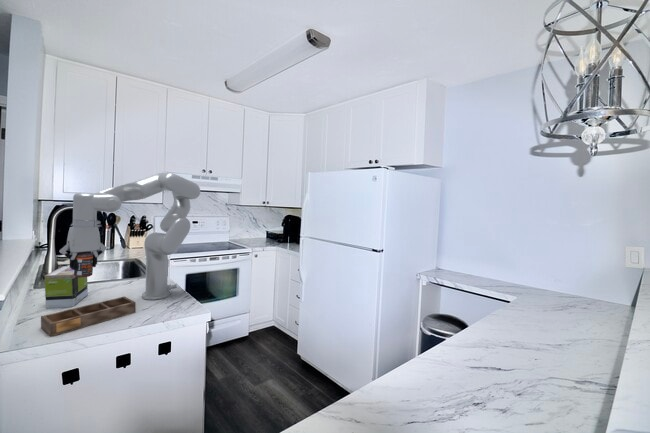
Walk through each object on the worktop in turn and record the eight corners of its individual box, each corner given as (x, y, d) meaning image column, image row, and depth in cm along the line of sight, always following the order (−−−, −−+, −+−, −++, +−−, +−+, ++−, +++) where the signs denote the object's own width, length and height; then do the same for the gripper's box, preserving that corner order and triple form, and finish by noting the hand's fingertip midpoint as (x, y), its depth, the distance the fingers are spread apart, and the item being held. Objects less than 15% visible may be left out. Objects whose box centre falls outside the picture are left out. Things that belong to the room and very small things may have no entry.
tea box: (62, 296, 142) (62, 265, 140) (88, 295, 145) (88, 265, 143) (44, 308, 127) (44, 274, 126) (73, 307, 130) (73, 274, 129)
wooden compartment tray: (124, 306, 135) (124, 296, 134) (135, 312, 129) (136, 302, 129) (41, 328, 111) (40, 316, 111) (51, 337, 106) (51, 324, 105)
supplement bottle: (81, 278, 119) (82, 250, 118) (70, 276, 121) (70, 248, 120) (96, 275, 125) (97, 248, 124) (85, 273, 126) (85, 246, 126)
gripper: (105, 222, 131) (104, 263, 132) (53, 223, 116) (52, 269, 117) (113, 224, 126) (111, 266, 128) (60, 225, 112) (59, 273, 113)
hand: (83, 267), depth 123 cm, fingers closed on supplement bottle, 6 cm apart
